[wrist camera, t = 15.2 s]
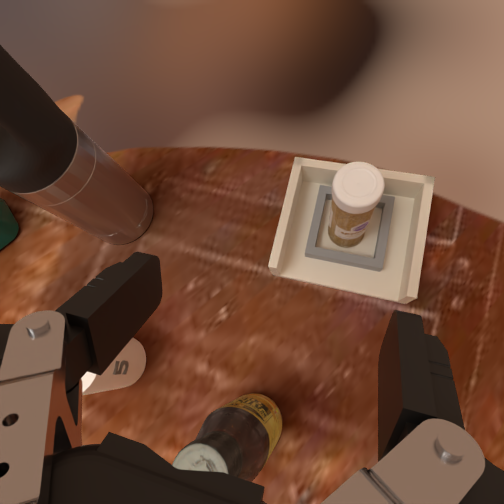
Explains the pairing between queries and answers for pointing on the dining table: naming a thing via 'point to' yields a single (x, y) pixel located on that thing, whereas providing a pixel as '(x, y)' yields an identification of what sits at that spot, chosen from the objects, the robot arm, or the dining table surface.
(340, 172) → the sprinkles bottle
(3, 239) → the green bottle
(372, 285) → the caddy
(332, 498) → the robot arm
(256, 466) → the sauce bottle
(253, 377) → the dining table surface
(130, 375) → the candle
